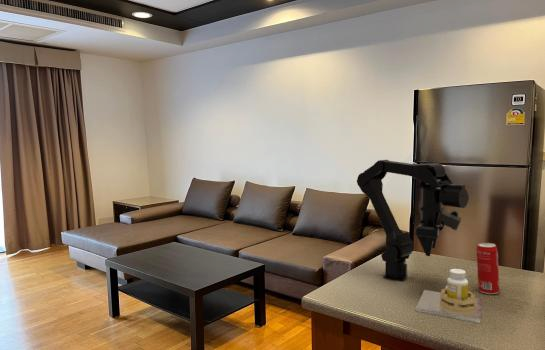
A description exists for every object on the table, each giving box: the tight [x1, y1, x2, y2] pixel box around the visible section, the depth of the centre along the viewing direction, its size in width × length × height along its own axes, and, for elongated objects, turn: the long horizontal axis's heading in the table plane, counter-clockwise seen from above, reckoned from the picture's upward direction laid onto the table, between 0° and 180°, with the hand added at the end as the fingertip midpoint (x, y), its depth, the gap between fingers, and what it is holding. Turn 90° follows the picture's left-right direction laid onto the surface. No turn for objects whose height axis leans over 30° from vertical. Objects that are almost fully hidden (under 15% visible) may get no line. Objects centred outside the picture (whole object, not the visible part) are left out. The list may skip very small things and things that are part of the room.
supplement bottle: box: [446, 268, 469, 306], centre depth 110 cm, size 5×5×10 cm
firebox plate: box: [415, 287, 483, 324], centre depth 111 cm, size 16×14×4 cm
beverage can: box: [475, 242, 500, 295], centre depth 121 cm, size 6×6×15 cm
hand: (430, 251), depth 124 cm, fingers open, 9 cm apart
